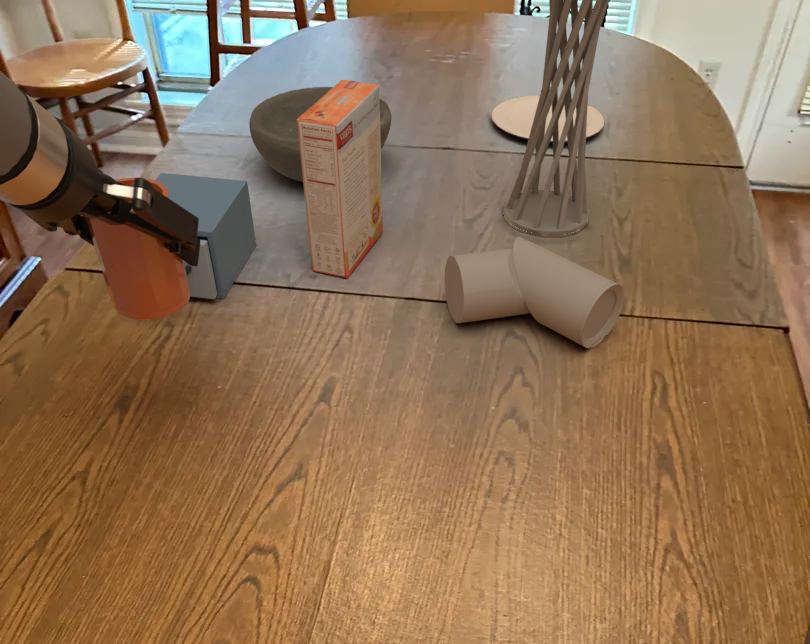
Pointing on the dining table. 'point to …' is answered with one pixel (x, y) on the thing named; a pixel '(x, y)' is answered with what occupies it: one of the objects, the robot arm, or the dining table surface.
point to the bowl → (292, 128)
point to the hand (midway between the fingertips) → (156, 248)
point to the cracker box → (342, 176)
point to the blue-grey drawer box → (217, 220)
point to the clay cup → (139, 268)
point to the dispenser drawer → (202, 273)
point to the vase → (545, 207)
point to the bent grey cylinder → (533, 291)
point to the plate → (521, 113)
